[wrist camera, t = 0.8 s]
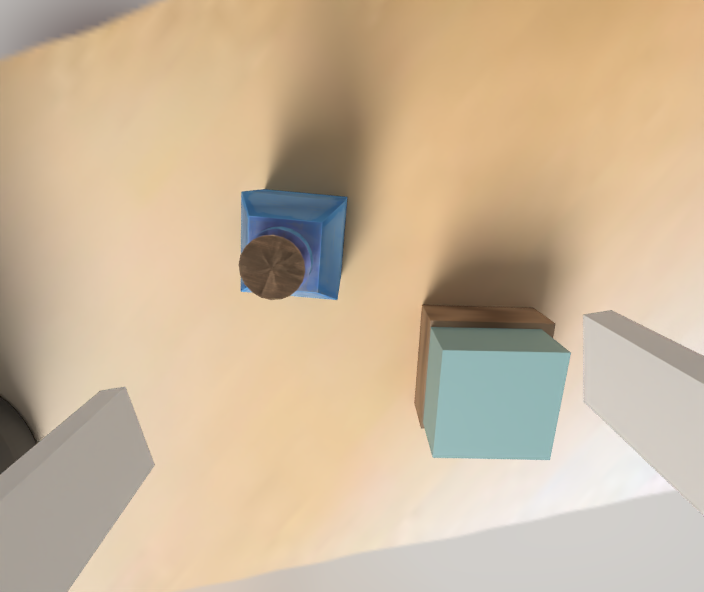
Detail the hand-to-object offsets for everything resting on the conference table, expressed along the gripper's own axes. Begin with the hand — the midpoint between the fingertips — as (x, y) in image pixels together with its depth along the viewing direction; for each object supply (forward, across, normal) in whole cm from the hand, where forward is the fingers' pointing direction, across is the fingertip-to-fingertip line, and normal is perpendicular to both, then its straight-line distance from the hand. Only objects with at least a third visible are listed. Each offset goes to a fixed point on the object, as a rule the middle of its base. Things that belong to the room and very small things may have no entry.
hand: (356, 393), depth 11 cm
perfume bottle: (+20, -3, +2) cm, 21 cm away
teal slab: (+16, +8, -10) cm, 21 cm away
